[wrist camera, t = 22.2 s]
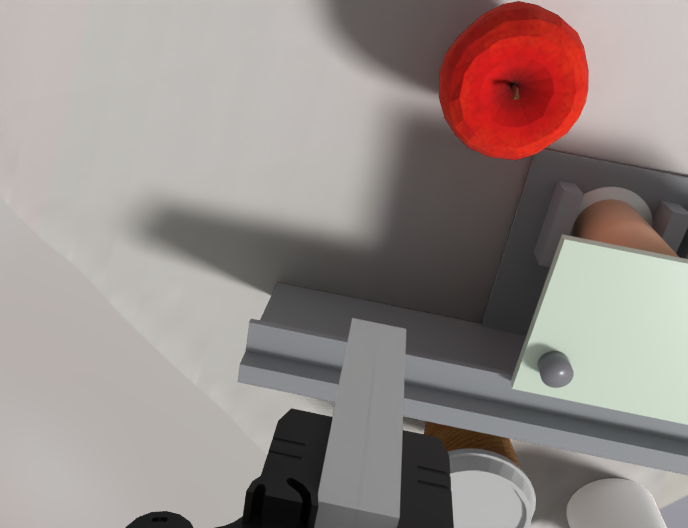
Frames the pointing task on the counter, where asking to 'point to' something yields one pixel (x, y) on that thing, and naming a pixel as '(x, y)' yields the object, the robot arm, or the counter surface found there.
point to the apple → (514, 81)
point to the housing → (487, 327)
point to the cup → (613, 506)
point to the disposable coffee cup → (485, 479)
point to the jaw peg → (619, 227)
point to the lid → (610, 331)
